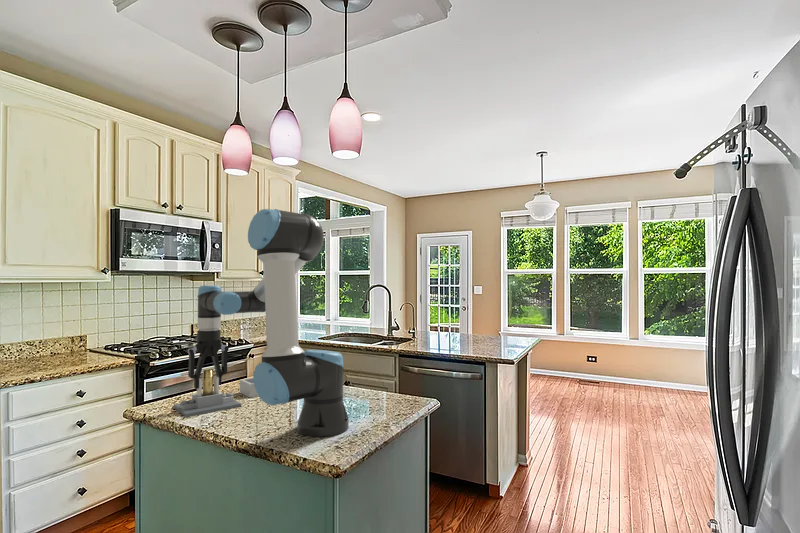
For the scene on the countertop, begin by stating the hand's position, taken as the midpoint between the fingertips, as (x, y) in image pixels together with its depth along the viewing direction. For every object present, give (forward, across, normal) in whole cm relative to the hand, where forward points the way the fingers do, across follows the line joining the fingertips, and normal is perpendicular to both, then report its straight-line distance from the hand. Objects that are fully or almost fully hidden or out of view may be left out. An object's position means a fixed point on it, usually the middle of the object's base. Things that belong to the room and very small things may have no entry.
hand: (207, 396), depth 150 cm
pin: (+3, 0, 0) cm, 3 cm away
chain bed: (+4, 0, 0) cm, 4 cm away
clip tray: (+4, -25, -7) cm, 26 cm away
